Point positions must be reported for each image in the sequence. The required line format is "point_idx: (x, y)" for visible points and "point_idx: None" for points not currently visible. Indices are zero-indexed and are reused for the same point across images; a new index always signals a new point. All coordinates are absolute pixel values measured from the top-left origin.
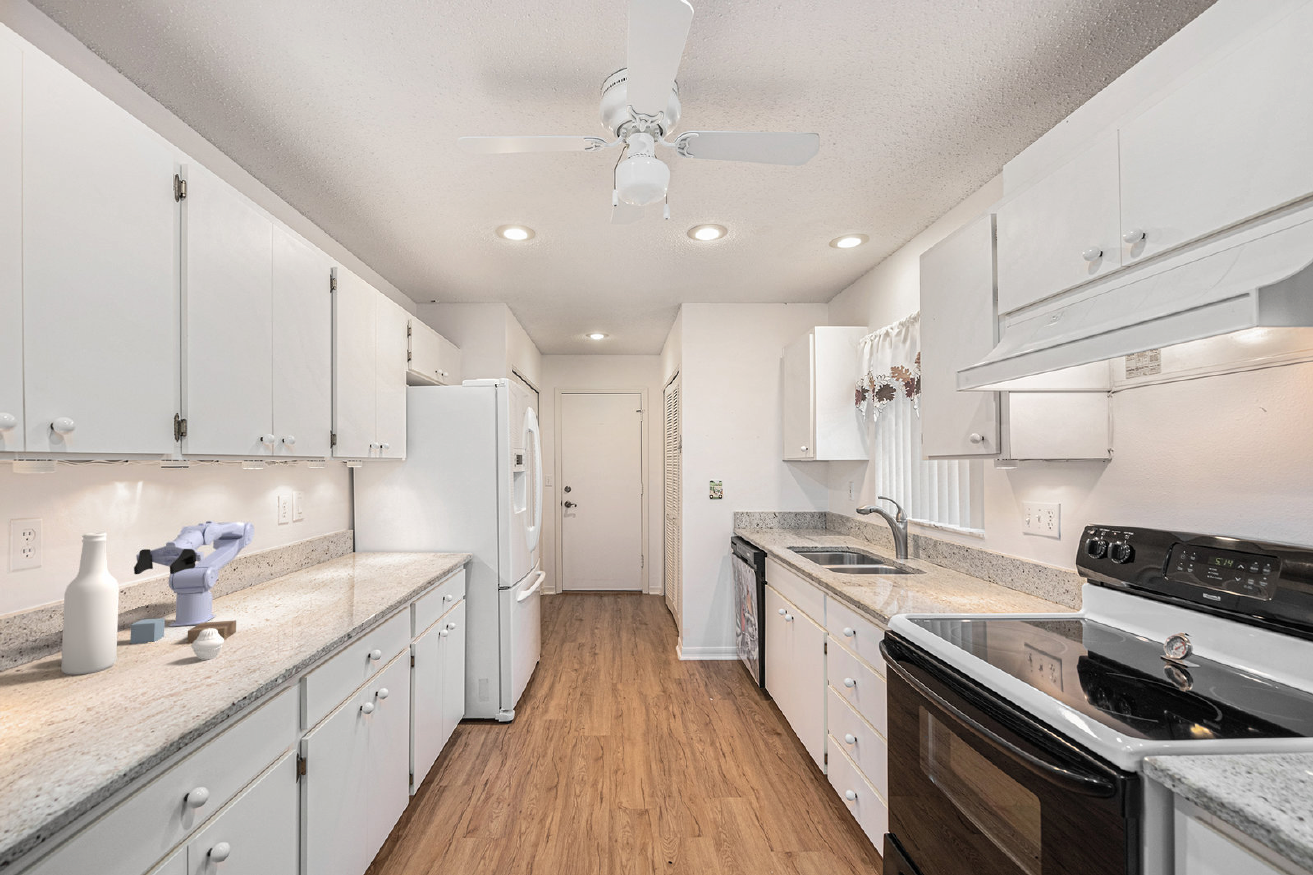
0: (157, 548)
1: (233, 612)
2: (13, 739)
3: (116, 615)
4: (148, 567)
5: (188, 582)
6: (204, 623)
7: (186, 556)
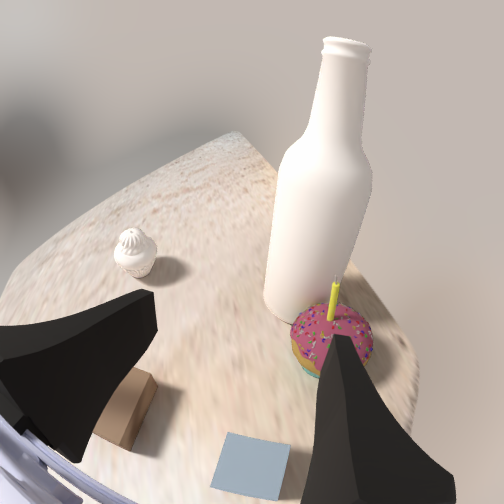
0: None
1: None
2: (276, 172)
3: (272, 222)
4: (305, 497)
5: None
6: (112, 429)
7: (37, 327)
